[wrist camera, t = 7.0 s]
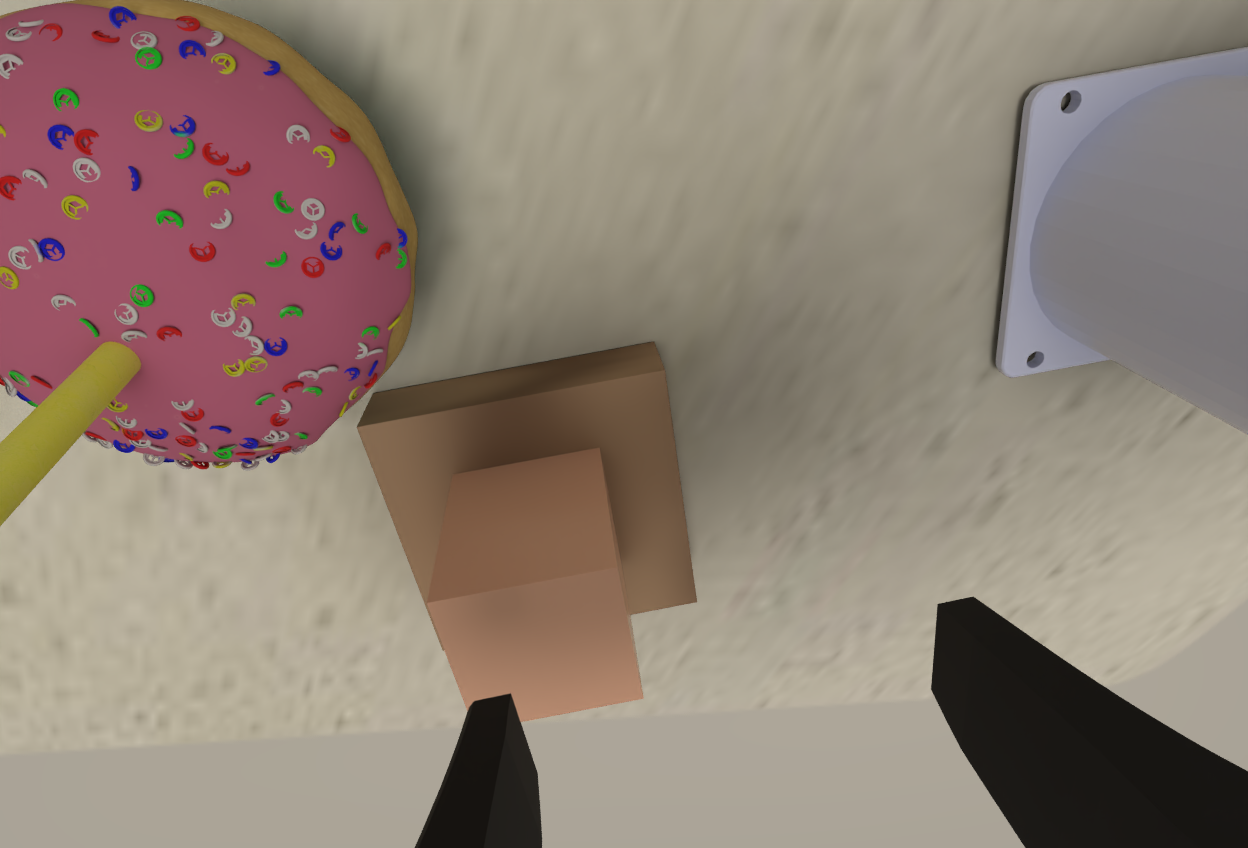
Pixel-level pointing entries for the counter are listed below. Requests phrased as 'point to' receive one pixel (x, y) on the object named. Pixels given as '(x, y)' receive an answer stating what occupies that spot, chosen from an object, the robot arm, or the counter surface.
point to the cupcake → (186, 240)
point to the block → (535, 588)
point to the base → (542, 455)
